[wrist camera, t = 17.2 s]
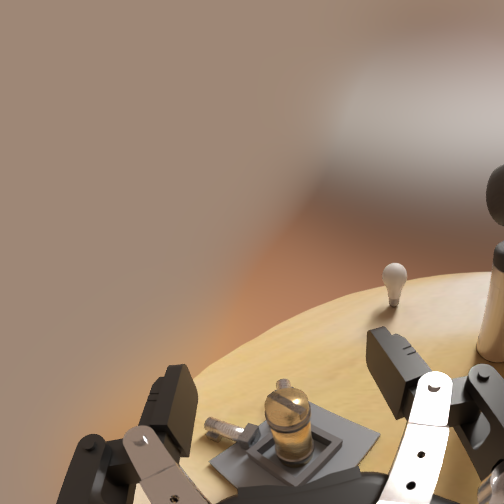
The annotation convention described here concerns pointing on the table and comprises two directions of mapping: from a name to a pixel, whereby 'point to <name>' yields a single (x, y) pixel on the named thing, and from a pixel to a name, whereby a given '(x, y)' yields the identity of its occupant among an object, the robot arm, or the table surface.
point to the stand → (322, 463)
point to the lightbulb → (394, 281)
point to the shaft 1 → (232, 432)
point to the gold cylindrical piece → (290, 426)
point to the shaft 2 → (283, 384)
